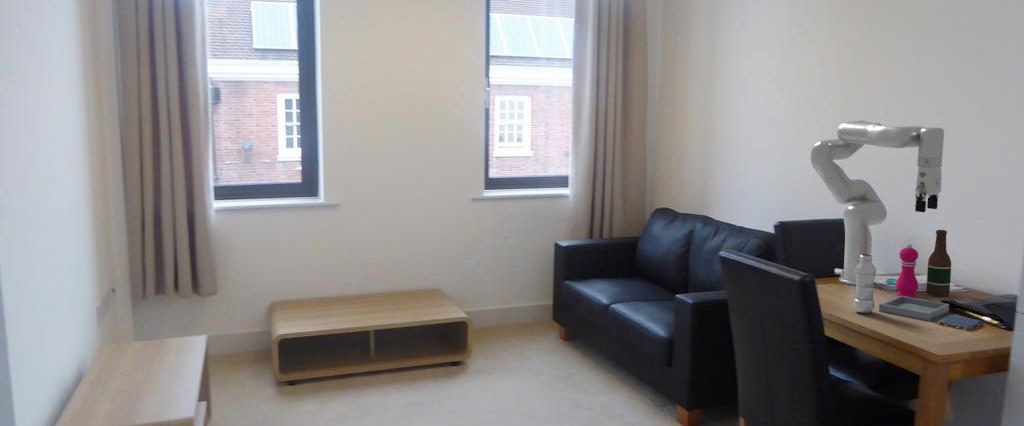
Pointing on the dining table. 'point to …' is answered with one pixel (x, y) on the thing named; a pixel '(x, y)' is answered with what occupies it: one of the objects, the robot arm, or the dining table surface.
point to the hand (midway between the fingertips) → (926, 210)
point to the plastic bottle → (864, 285)
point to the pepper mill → (907, 273)
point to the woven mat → (960, 322)
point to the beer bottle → (939, 268)
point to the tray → (914, 308)
